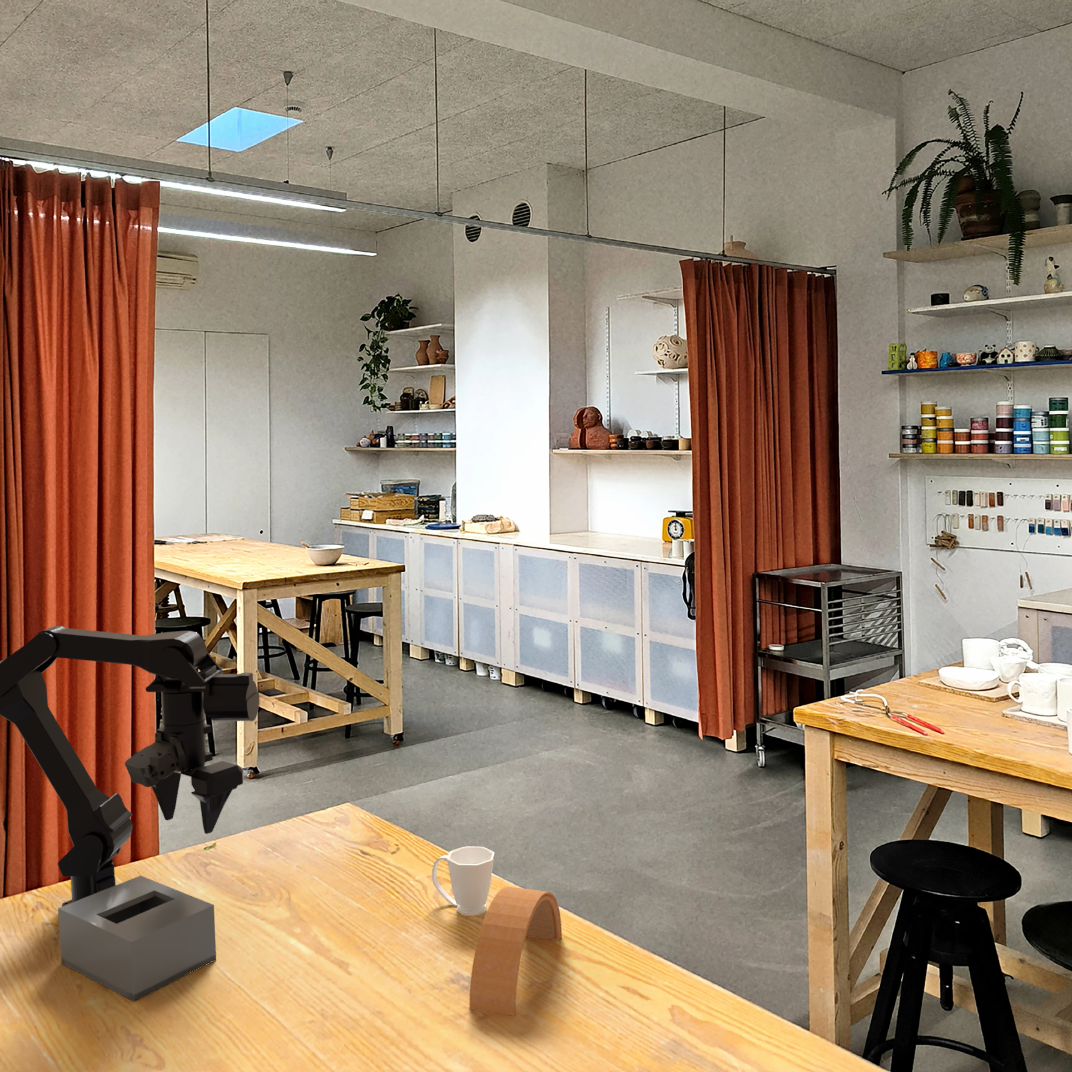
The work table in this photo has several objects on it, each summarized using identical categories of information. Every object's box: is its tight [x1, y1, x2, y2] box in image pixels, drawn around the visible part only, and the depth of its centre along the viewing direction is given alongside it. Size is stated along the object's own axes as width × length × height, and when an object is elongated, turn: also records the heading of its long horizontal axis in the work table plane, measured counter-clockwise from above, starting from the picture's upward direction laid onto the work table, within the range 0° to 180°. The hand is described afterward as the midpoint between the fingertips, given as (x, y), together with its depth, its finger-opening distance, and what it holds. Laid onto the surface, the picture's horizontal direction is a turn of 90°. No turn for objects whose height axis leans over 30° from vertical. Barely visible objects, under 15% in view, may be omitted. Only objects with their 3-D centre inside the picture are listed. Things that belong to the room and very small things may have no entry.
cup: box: [431, 845, 495, 917], centre depth 149 cm, size 7×10×8 cm
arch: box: [469, 886, 563, 1017], centre depth 131 cm, size 6×20×10 cm, turn 162°
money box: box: [57, 875, 217, 1002], centre depth 134 cm, size 16×12×8 cm
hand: (188, 826), depth 149 cm, fingers open, 9 cm apart
